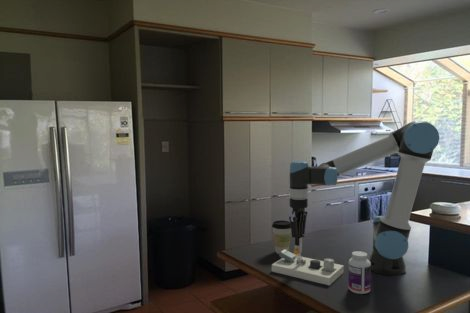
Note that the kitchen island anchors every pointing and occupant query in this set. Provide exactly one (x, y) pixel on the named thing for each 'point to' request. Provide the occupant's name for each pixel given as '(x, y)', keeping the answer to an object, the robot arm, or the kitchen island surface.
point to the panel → (307, 270)
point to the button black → (315, 264)
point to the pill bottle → (359, 273)
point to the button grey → (328, 265)
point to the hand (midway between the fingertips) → (298, 252)
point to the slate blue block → (287, 255)
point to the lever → (298, 255)
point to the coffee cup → (281, 235)
